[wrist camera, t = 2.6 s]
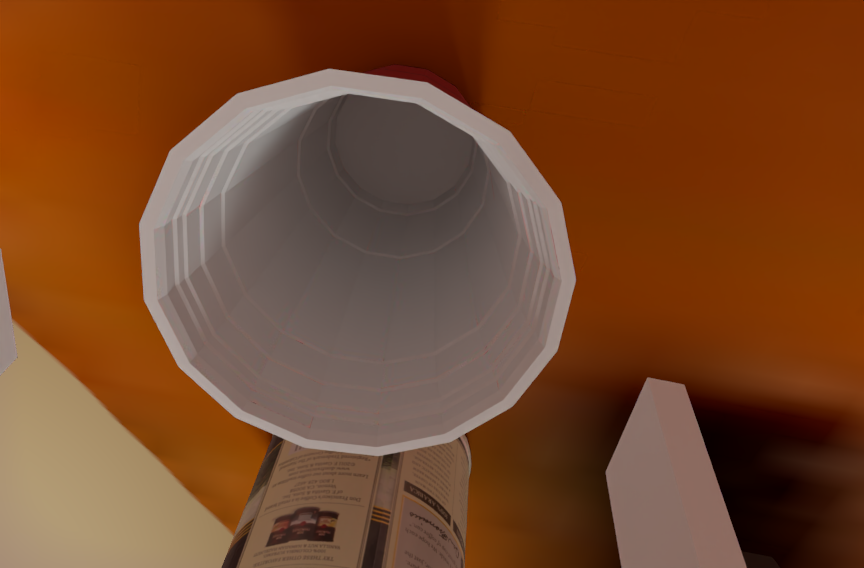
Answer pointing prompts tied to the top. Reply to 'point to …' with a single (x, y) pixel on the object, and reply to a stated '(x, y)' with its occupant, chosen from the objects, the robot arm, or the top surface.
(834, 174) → the top surface
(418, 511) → the coffee can
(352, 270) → the plastic cup
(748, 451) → the top surface
